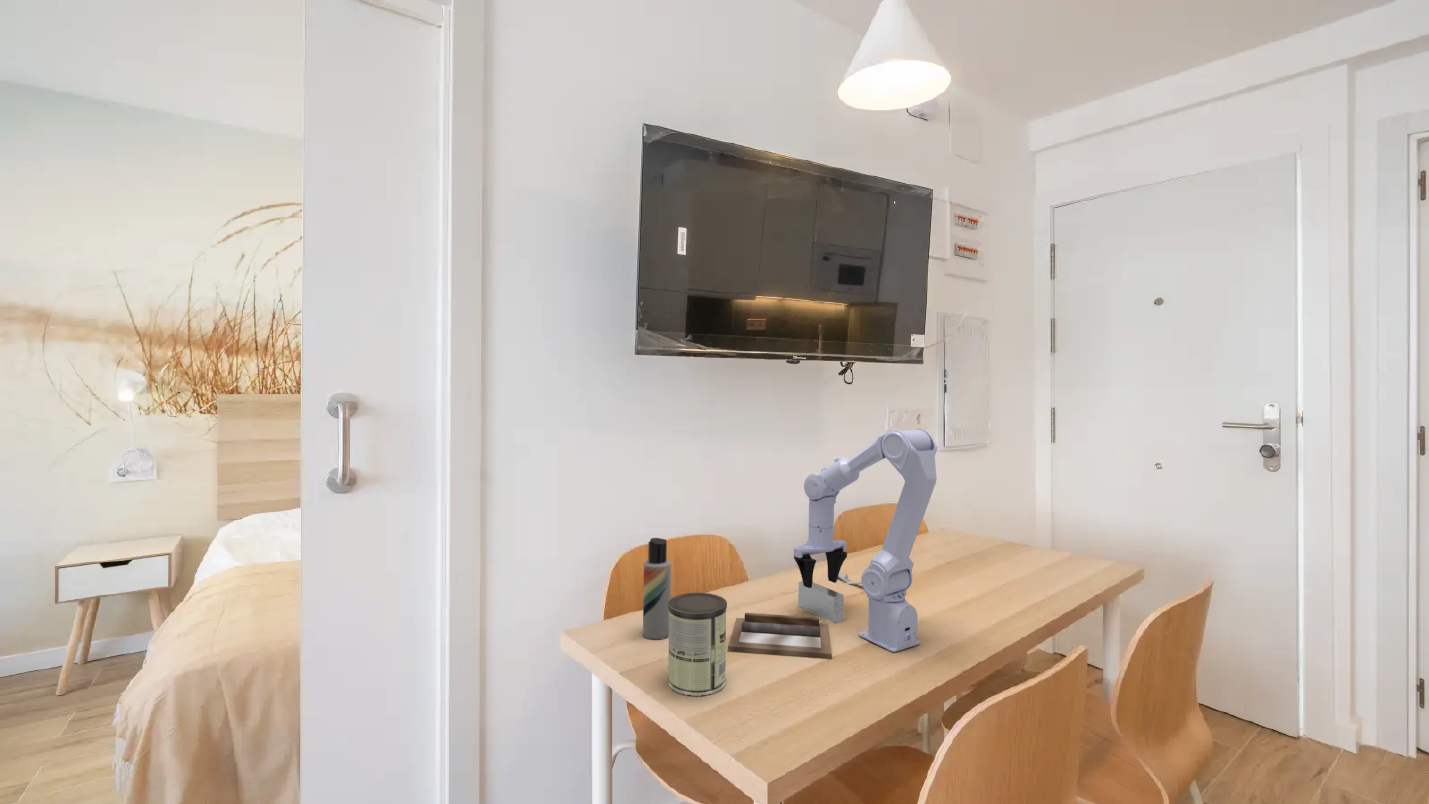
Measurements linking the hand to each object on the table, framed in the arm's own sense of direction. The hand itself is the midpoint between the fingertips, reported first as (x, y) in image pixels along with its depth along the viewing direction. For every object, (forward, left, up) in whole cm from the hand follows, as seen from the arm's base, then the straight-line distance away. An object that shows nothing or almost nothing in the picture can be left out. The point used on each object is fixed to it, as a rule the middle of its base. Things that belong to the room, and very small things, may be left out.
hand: (820, 584), depth 137 cm
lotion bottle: (+8, +38, -7) cm, 39 cm away
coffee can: (-14, +41, -7) cm, 44 cm away
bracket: (+12, -22, -7) cm, 26 cm away
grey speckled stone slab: (0, 0, -7) cm, 7 cm away
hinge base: (-7, +17, -7) cm, 20 cm away
